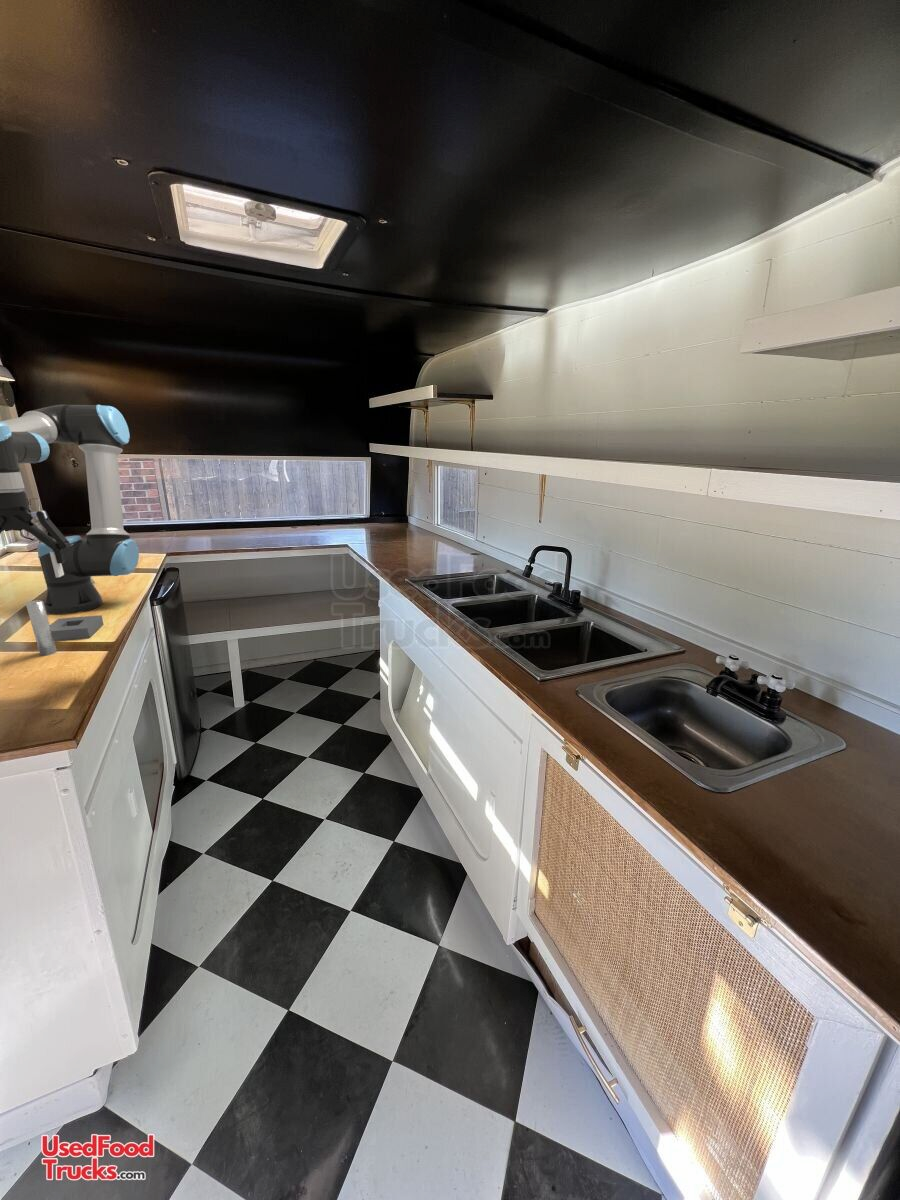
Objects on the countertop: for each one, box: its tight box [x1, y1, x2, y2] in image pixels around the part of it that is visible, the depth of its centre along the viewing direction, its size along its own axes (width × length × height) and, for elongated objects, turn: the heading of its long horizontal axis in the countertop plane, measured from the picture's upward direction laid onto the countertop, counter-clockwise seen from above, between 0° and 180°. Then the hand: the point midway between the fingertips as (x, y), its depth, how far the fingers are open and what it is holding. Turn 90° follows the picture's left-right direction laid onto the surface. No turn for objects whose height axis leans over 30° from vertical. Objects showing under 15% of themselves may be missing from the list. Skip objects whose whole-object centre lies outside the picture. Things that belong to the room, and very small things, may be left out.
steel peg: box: [25, 599, 57, 656], centre depth 125 cm, size 3×3×14 cm
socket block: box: [49, 614, 104, 642], centre depth 139 cm, size 11×11×3 cm
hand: (27, 578), depth 120 cm, fingers open, 13 cm apart
